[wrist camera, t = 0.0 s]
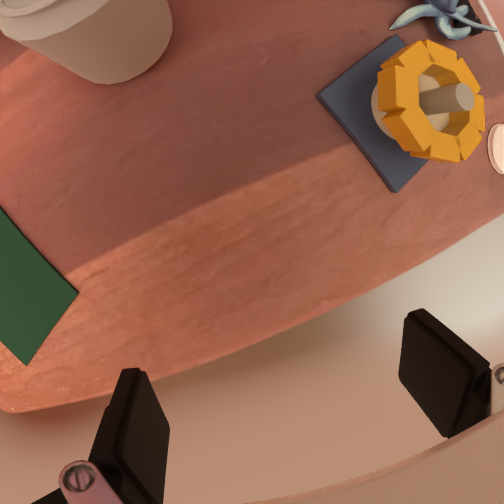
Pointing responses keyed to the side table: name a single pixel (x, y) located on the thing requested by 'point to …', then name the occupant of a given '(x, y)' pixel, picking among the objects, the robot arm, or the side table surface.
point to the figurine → (446, 18)
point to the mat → (28, 293)
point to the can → (92, 34)
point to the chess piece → (496, 147)
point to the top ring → (411, 115)
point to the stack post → (369, 117)
